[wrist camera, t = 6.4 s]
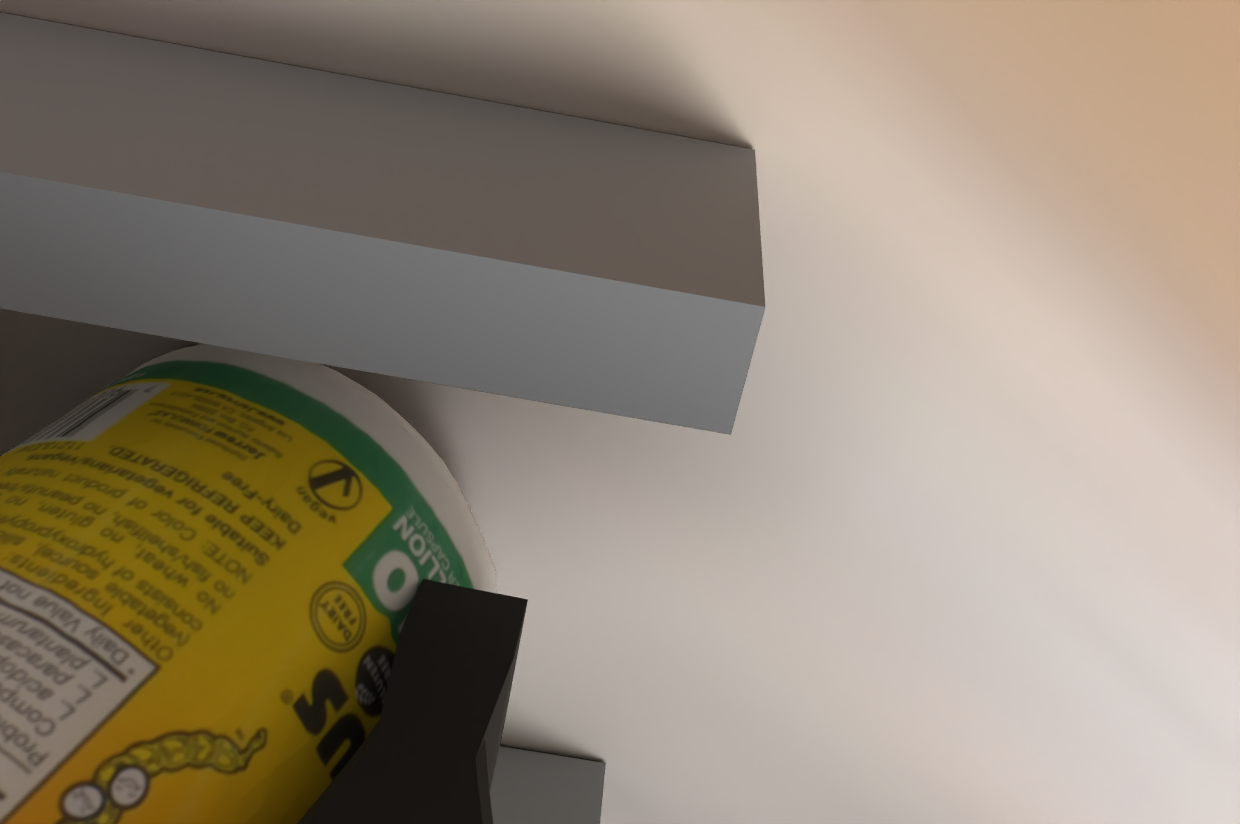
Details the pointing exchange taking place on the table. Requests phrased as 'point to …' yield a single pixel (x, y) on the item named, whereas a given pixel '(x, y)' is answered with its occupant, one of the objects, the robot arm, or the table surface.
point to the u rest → (381, 245)
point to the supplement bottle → (211, 589)
